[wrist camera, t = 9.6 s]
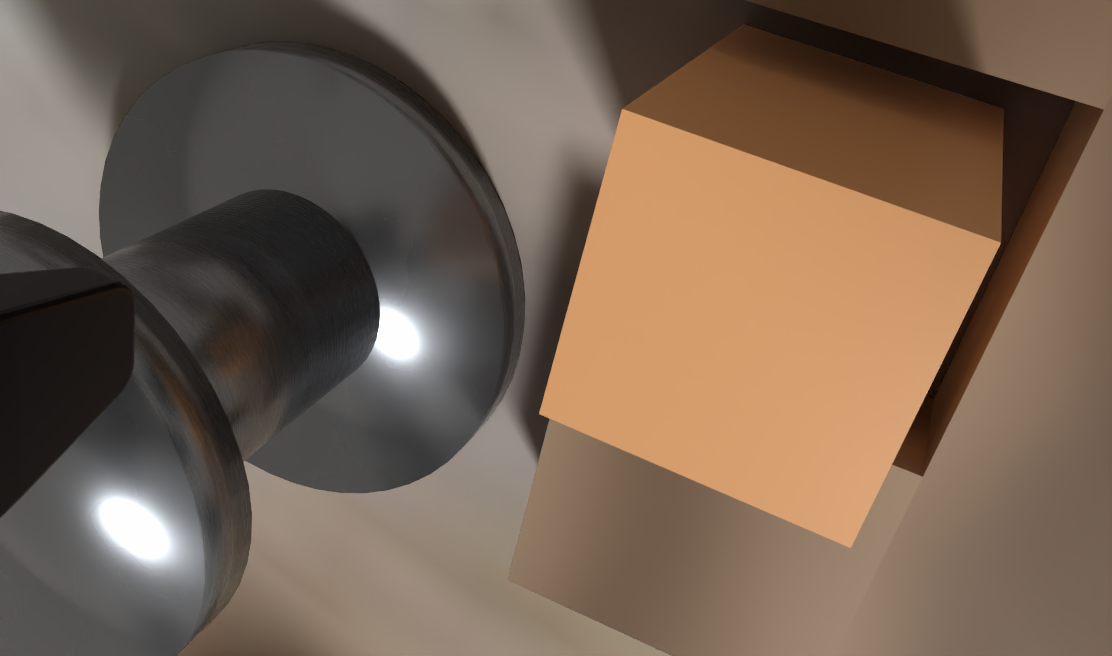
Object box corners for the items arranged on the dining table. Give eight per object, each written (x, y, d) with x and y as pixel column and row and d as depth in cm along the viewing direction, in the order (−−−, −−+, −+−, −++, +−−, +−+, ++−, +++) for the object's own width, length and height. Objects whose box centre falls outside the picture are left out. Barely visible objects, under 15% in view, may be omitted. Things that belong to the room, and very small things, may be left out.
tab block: (1004, 108, 15) (1001, 242, 10) (897, 339, 17) (851, 547, 12) (743, 24, 16) (621, 108, 11) (671, 253, 18) (539, 413, 13)
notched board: (1856, -258, 11) (2063, -283, 9) (1120, 751, 19) (1134, 868, 16) (829, -461, 13) (795, -517, 11) (557, 506, 21) (507, 580, 19)
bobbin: (571, 131, 18) (304, 310, 11) (477, 532, 22) (244, 835, 15) (138, -19, 20) (-313, 54, 13) (130, 375, 24) (-211, 582, 17)
